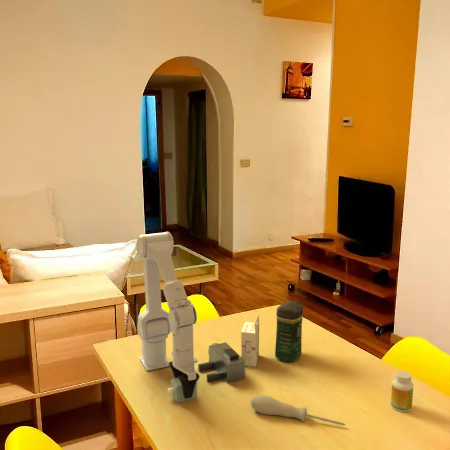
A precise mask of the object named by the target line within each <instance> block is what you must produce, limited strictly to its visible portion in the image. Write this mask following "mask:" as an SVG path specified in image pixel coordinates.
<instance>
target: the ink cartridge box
mask: <svg viewBox="0 0 450 450" xmlns="http://www.w3.org/2000/svg"><path fill="white" fill-rule="evenodd" d="M240 343H241V345H240V346H241V349H240V350H241V351H240V352H241V355H240V356H241V357H242V358H243V359H244V360H245V367H256V366H257V363H258V360H259V356H260V316H259V314H258V315H257V316H256V319H255V321H254V322H250V321H245V322H244V324H243V327H242V328H241V331H240Z"/></svg>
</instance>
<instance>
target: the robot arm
mask: <svg viewBox="0 0 450 450" xmlns="http://www.w3.org/2000/svg"><path fill="white" fill-rule="evenodd" d="M174 244H175V243H174V237H173V235H172V234H171V232H169V231H165V232H157V233H149V234H139V235H138V237H137V240H136V254H137V258H138V260H142V264H143V280H144V295H145V296H144V297H145V309H144V310H143V311H142V312H141V313H139V314H138V316H137V326H136V329H137V334H138V337H139V338H140V340H141V354H142V355H141V356H140V357H139V360H140V362H141V364H142V365H143V366H144V369H145V371H147V372H149V371H153V370H157V369H161V368H167V367H170V368H171V371H172V374H173V378H177V377H178V378H179V380H180V382H181V385H182V389H183V395H184V398H185V399H187V398H191V397H192V395H193V391H194V387H195V385H196V382H198V381H199V379H200V374H199V373H198V372H196V369H195V367H196V366H195V364H196V363H197V364H198V362H199V361H198V359H197V357H195V355H194V325H195V324H196V323H197V321H198V320H197V319H198V314H197V310H196V307H195V305H194V304H193V303H192V302H191V300H189V298H188V296H187V293H186V291H185V287H184V285H183V282H182V281H180V280H178V279H177V273H176V270H175V266H174V261H173V257H172V255H173V251H174ZM160 274H161V275H160ZM161 278H162V280H163V282H164V283H165V284H164V286H163V287H162V289H161ZM161 290H162V291H163V294H164V297H165V300H166V303H167V307H168V309H169V312H168V310H166V309H164V308H163V307H162V293H161ZM170 334H172V352H171V358H172V361H169V360H168V357H167V339H168V337H169V336H168V335H170Z"/></svg>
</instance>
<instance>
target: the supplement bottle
mask: <svg viewBox="0 0 450 450" xmlns="http://www.w3.org/2000/svg"><path fill="white" fill-rule="evenodd" d="M413 396H414V384H413V382H412V374H411V373H410V372H409V371H405V370H397V371H396V372H395V377H394V379H393V380H392V382H391V396H390V406H391V408H392V409H393V410H394V411H397V412H401V413H408V412H410V411H411V410H412V408H413Z"/></svg>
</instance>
